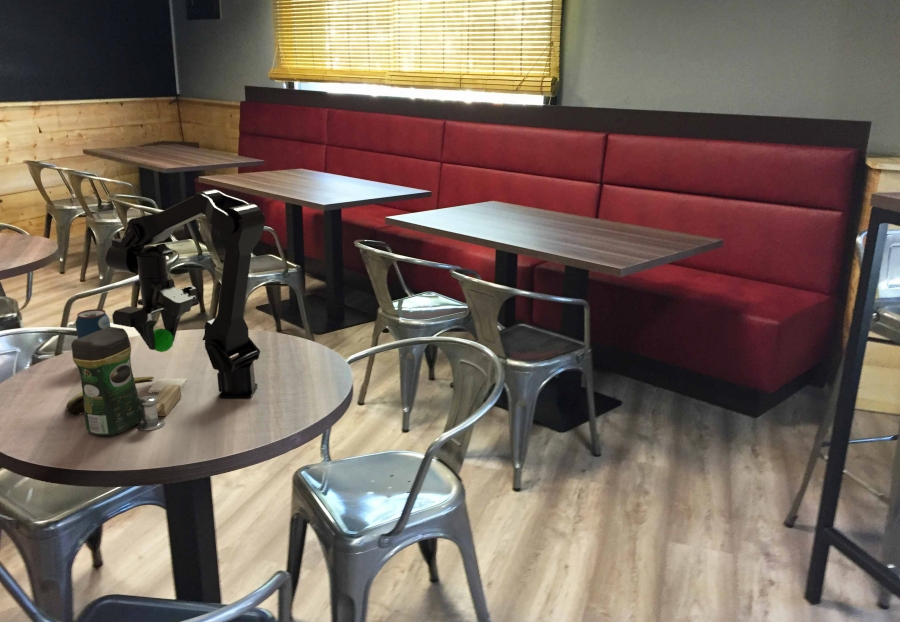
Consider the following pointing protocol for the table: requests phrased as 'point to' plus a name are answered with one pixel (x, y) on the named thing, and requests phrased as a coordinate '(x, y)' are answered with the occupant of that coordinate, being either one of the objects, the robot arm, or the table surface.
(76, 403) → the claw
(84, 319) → the soda can
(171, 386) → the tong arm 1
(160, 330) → the polyhedron
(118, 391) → the coffee jar
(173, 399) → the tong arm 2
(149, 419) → the grey spool
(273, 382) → the table surface
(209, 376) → the table surface
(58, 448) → the table surface
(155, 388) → the coaster
